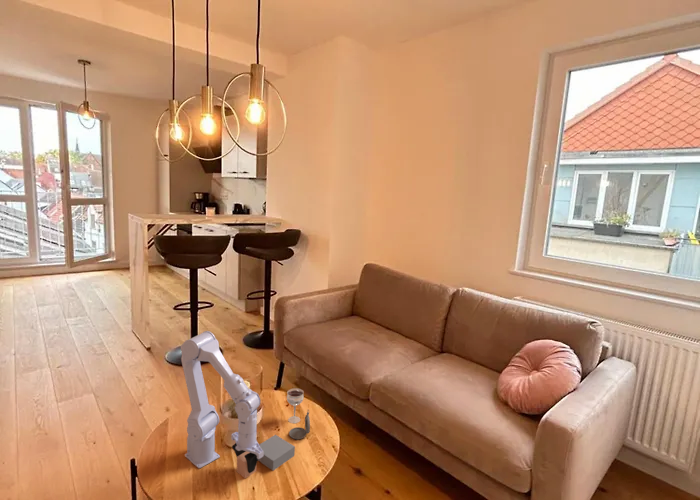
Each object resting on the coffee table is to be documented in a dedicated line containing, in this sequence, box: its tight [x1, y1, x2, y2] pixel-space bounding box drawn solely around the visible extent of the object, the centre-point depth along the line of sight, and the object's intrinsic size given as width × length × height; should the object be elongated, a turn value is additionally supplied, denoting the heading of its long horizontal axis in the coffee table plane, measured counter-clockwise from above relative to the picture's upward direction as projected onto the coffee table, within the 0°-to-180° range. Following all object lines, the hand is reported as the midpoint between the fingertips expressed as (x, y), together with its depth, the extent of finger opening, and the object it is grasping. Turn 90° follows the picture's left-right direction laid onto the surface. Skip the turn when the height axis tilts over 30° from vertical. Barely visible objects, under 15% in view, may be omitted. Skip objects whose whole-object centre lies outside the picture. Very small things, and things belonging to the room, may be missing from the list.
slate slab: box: [257, 434, 296, 471], centre depth 138 cm, size 10×10×4 cm
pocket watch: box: [288, 409, 311, 440], centre depth 151 cm, size 8×8×10 cm
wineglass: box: [286, 387, 305, 424], centre depth 160 cm, size 7×7×12 cm
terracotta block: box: [236, 451, 258, 479], centre depth 130 cm, size 4×4×6 cm
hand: (246, 467), depth 130 cm, fingers closed on terracotta block, 4 cm apart
